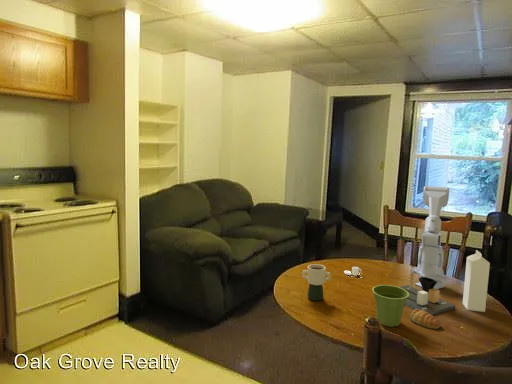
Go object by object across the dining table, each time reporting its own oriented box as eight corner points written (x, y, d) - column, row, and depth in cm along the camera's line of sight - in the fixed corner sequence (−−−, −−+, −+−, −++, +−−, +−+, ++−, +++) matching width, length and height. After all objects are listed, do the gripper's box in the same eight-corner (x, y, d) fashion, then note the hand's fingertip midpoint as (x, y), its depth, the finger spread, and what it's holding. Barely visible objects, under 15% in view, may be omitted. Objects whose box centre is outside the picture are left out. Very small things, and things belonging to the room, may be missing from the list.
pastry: (444, 326, 123) (445, 315, 122) (434, 332, 119) (434, 321, 118) (418, 315, 130) (418, 305, 130) (407, 321, 126) (408, 310, 126)
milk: (467, 310, 135) (472, 253, 132) (462, 303, 141) (467, 248, 138) (485, 312, 134) (490, 254, 131) (479, 305, 140) (484, 250, 137)
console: (407, 287, 156) (407, 284, 156) (455, 308, 137) (455, 304, 136) (381, 293, 149) (382, 290, 149) (428, 316, 130) (429, 312, 130)
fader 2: (433, 299, 141) (434, 288, 140) (438, 301, 139) (439, 290, 138) (428, 300, 139) (428, 289, 139) (433, 303, 137) (434, 291, 137)
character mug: (329, 296, 146) (330, 265, 144) (329, 303, 139) (330, 271, 137) (302, 293, 148) (303, 263, 146) (300, 300, 141) (301, 268, 139)
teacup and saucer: (341, 275, 171) (341, 266, 171) (350, 271, 177) (351, 263, 176) (357, 280, 165) (358, 271, 164) (367, 276, 170) (367, 268, 170)
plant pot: (367, 313, 131) (369, 283, 130) (401, 315, 130) (403, 285, 128) (374, 329, 119) (376, 297, 118) (411, 332, 118) (414, 299, 117)
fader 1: (422, 301, 138) (422, 290, 138) (427, 304, 136) (428, 292, 136) (416, 303, 137) (417, 291, 136) (422, 305, 135) (423, 294, 134)
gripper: (407, 258, 144) (404, 291, 146) (439, 269, 132) (437, 305, 133) (419, 256, 148) (416, 288, 149) (452, 267, 135) (449, 301, 136)
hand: (427, 296), depth 141 cm, fingers closed
